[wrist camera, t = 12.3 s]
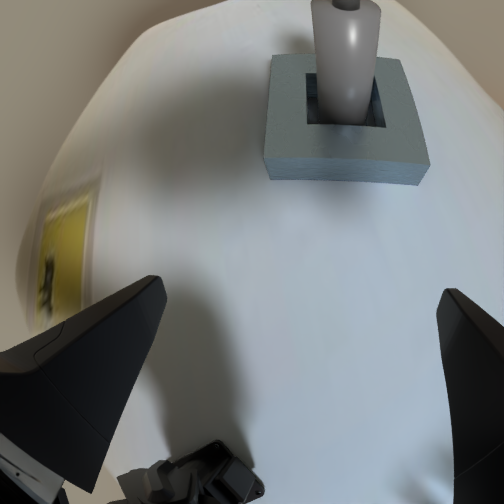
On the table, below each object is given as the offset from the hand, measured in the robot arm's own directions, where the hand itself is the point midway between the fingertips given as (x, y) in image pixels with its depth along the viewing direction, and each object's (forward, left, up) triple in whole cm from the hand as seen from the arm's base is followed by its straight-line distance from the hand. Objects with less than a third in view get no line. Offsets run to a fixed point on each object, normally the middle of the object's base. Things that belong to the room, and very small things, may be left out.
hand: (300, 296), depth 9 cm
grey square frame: (+14, +11, -14) cm, 22 cm away
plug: (+14, +11, -14) cm, 22 cm away
